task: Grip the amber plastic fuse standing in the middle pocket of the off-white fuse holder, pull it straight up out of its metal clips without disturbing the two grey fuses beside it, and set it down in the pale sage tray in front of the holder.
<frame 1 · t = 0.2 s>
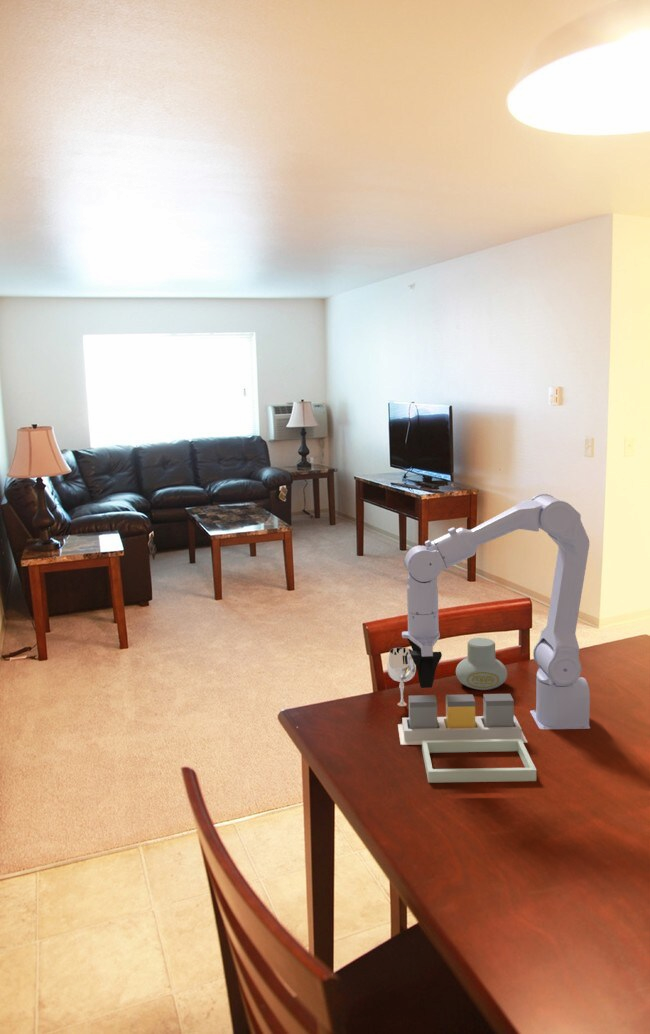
hand: (424, 678, 136), 10 cm above the table, tool pointing down, fingers open, 7 cm apart
fuse holder: (460, 736, 134), on the table
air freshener: (481, 686, 156), on the table
tray: (476, 768, 122), on the table
grey fuse 2: (498, 732, 133), point 1 cm above the table, touching fuse holder
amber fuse: (460, 733, 134), point 1 cm above the table, touching fuse holder
wineglass: (402, 707, 147), on the table
grey fuse 1: (423, 733, 134), point 1 cm above the table, touching fuse holder
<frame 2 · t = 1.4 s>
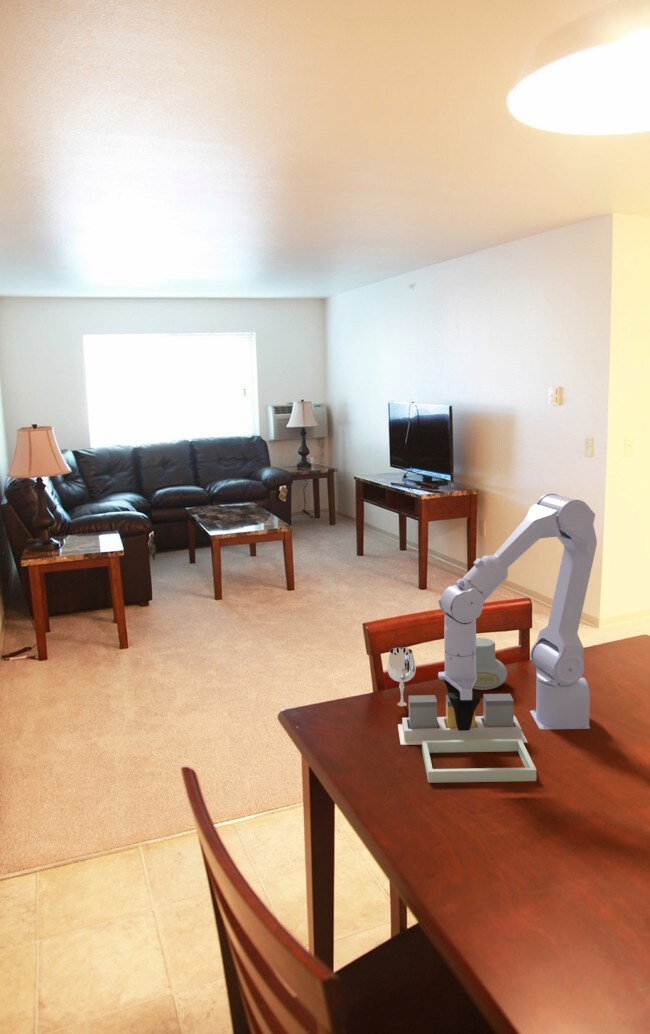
hand: (460, 720, 133), 3 cm above the table, tool pointing down, fingers open, 7 cm apart
nothing on the table moved.
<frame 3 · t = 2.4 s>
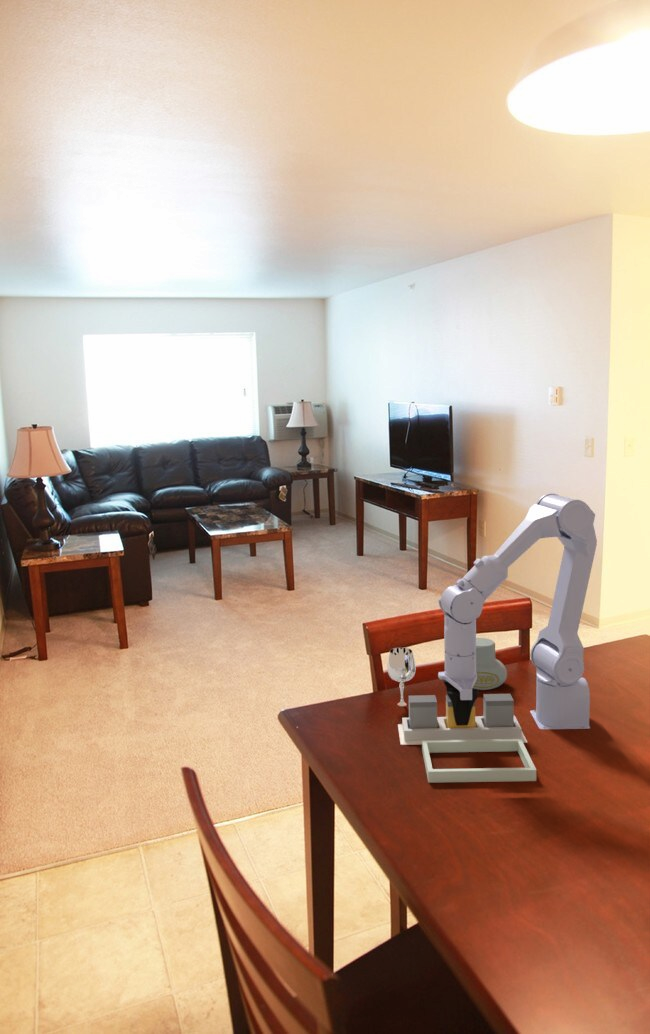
hand: (460, 720, 133), 3 cm above the table, tool pointing down, fingers closed on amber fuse, 3 cm apart
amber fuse: (460, 733, 134), point 1 cm above the table, touching fuse holder, gripper
everything else where it was.
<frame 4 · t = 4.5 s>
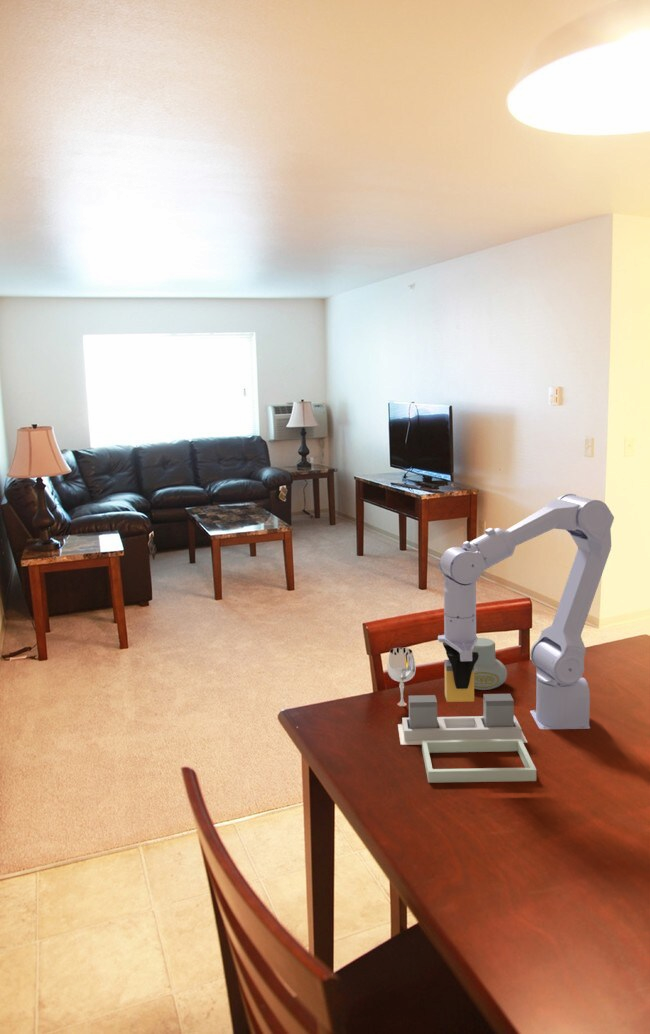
hand: (460, 683, 132), 10 cm above the table, tool pointing down, fingers closed on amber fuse, 3 cm apart
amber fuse: (459, 698, 132), point 8 cm above the table, touching gripper
everything else where it was.
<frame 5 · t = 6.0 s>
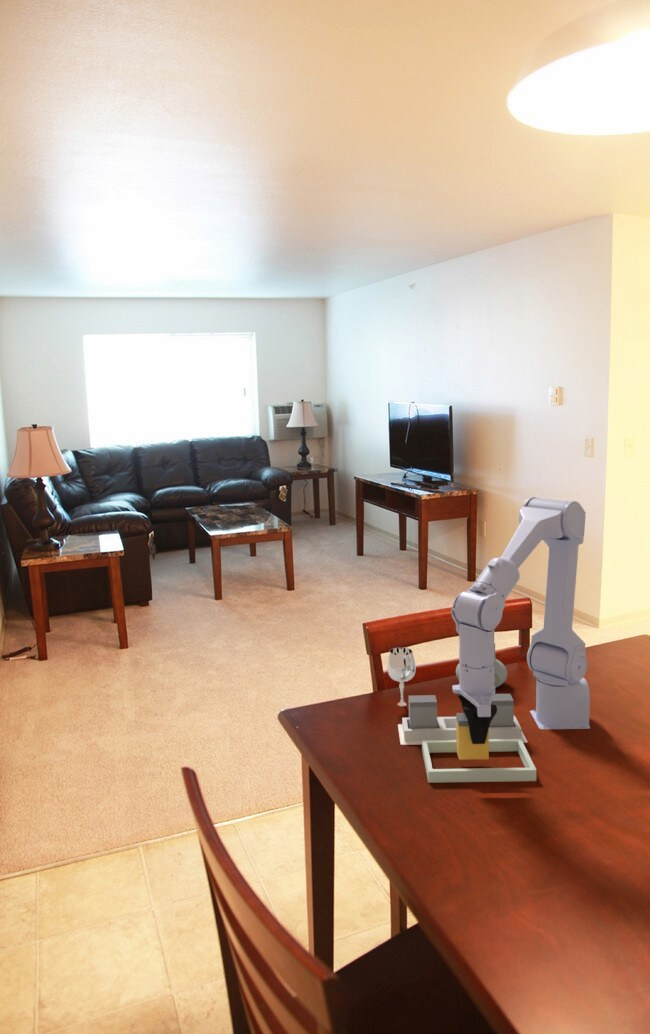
hand: (476, 737, 121), 6 cm above the table, tool pointing down, fingers closed on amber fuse, 3 cm apart
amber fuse: (472, 754, 122), point 2 cm above the table, touching gripper
everything else where it was.
when the fingers open (4 cm above the table, at t = 6.9 s): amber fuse stays where it is, resting on tray.
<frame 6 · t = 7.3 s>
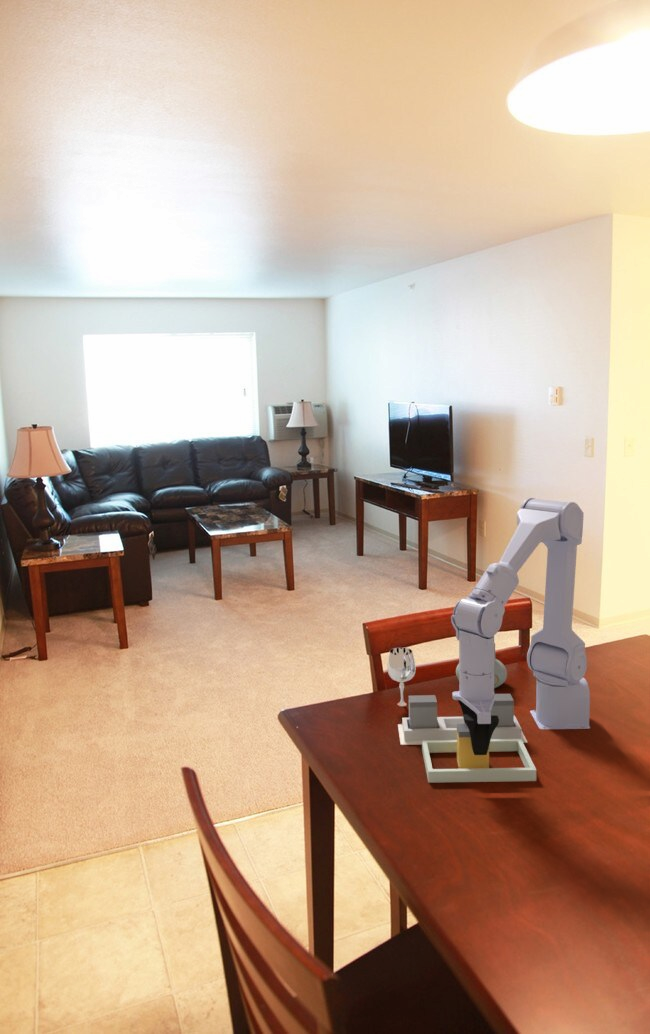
hand: (476, 744, 121), 4 cm above the table, tool pointing down, fingers open, 6 cm apart
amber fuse: (472, 765, 122), resting on tray
everything else where it was.
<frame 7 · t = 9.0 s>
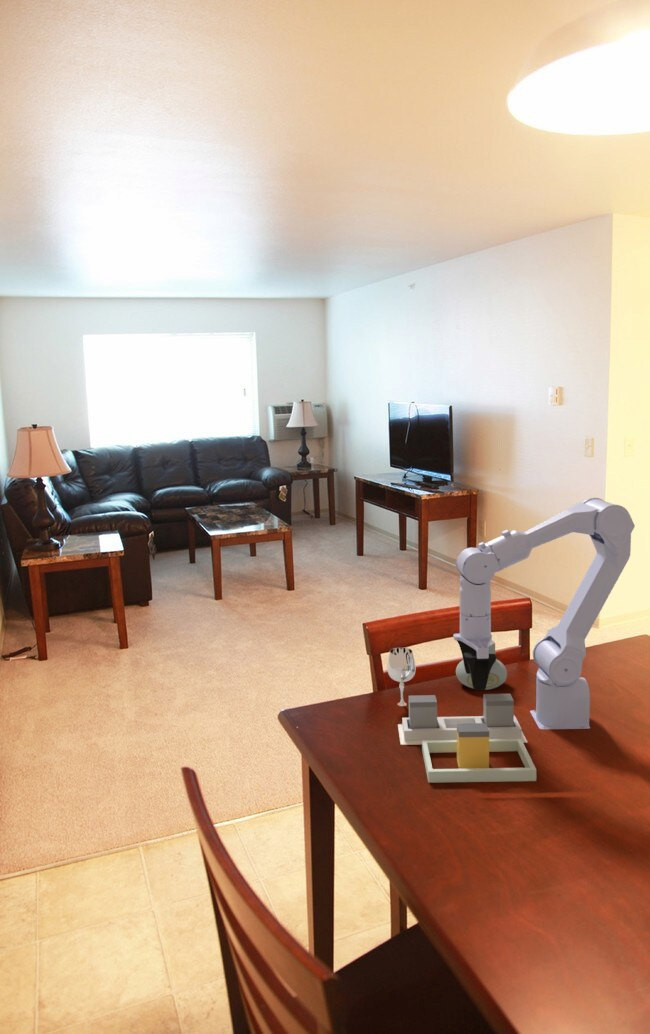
hand: (475, 680, 135), 9 cm above the table, tool pointing down, fingers open, 7 cm apart
nothing on the table moved.
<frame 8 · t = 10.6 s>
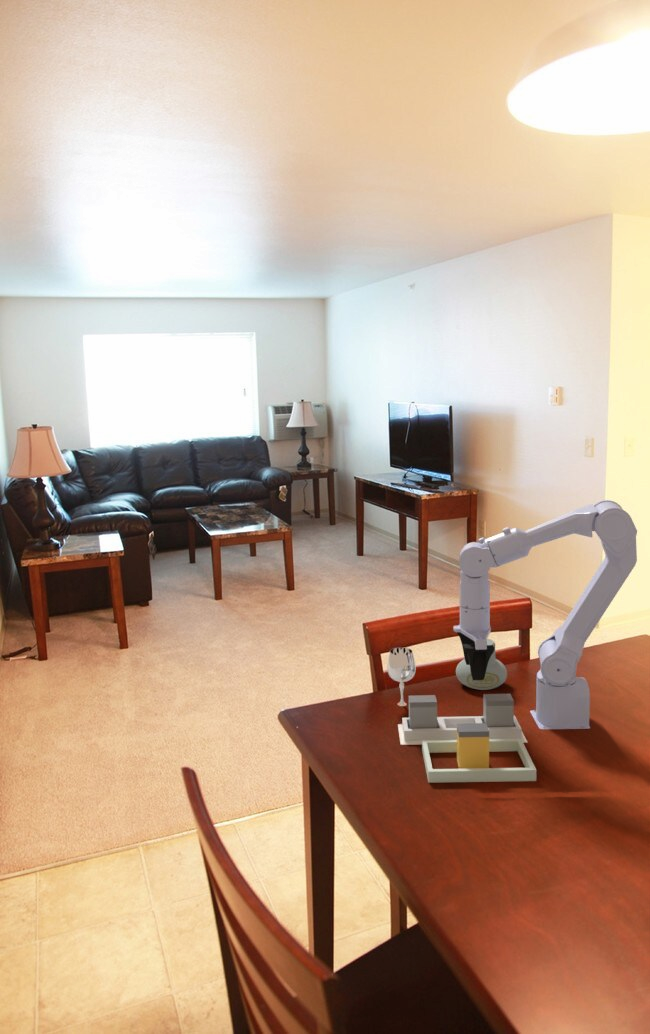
hand: (474, 671, 140), 9 cm above the table, tool pointing down, fingers open, 7 cm apart
nothing on the table moved.
at the end: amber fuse inside the target area on the tray (0.7 cm from its centre), point 0.5 cm above the tray's base; grey fuse 2 moved 0.0 cm from its start; grey fuse 1 moved 0.0 cm from its start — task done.
